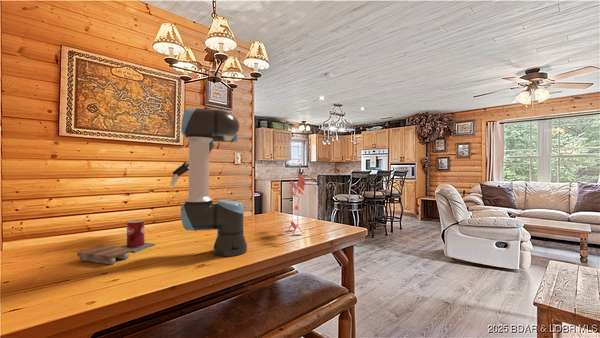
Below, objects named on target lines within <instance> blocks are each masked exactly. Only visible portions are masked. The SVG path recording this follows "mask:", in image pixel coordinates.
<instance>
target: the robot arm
mask: <svg viewBox="0 0 600 338" xmlns="http://www.w3.org/2000/svg"><path fill="white" fill-rule="evenodd" d="M180 128H181V131H180V132H181V134H182V135H184V136H185V137H184V138H185V140H186V141H187V142H188V162H186V161H184V162H183V163H182V164H181V165H179V166H178V167H177V168H176V169H175V170H174V171H172V175H173V176H172V178H171V180H170V182H169V183H170V185H171V186H172V187H174V186H175V184H176V183H177V181H178V180H179V179H180V176H182V175H184V174H185V173H187V172H188V197H187V198H186V199H185V200H184V203H183V204H181V206H180V218H181V224H182V227H183V228H184V230H185V231H190V232H192V231H194V232H197V231H210V230H211V231H212V230H217V236H216V240H215V241H214V245H213V247H212V248H213V250H212V251H213V252H212V253H213V254H214V255H215V256H219V257H235V256H240V255H243V254H245V253H247V251H248V243H247V241H246V238H245V235H244V214H245V212H244V205H243V203H242V202H240V201H237V200H230V199H219V200H217V203H214V202H213V200H214V199H213V198H212V197H211V196H210V154H211V153H212V150H213V149H214V147H215V145H216V144H215V143H216V142H217V143H218V142H219V143H220V142H221V143H223V142H224V143H238V136H239V130H240V122H239V120H238V118H237V117H236V116H235V115H234V114H231V113H230V112H228V111H225V110H222V109H209V108H208V109H207V108H198V107H195V108H186V109H185V110H184V112H183V113H182V119H181V127H180Z"/></svg>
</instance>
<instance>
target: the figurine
mask: <svg viewBox="0 0 600 338" xmlns="http://www.w3.org/2000/svg"><path fill="white" fill-rule="evenodd" d="M297 177H298V178H297V179H298V181H297V182H296V183H295V182H294V181H293V180H291V181H290V188H289V194H292V196H293V197H294V198H295V197H297V198H298V199H297V200H298V201H297V204H296V205H295V206H294V208H293V209H292V210H290V215H291V217H293V212H292V211H294V210H296V211H299V210H300V206H299V202H300V196H299V195H304V196H305V197H307V194H306V193H305V191H304V190H305V186H306V185H307V182H306V181H305V176H304V174H303V173H302V174H301V173H299V174H298V176H297ZM292 188H293V189H294V190H293V191H292V192H291V190H292ZM297 192H298V195H297ZM296 214H297V223H295V222H294V220H293V218H291V221H290V225H289V227H288V230H287V231H288V232H289V231H290V229H291V228H293V232H292V234H293V235H294V234H295V232H296V230H297V228H298V230H299V231H300V232H301V234H302V235H304V232H303V231H302V229H301V227H300V226H299V213H296Z"/></svg>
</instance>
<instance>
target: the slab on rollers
mask: <svg viewBox="0 0 600 338" xmlns="http://www.w3.org/2000/svg"><path fill="white" fill-rule="evenodd" d="M76 253H77V257H78V258H79V261H83V262H90V263H98V264H106V265H114V264H115V263H116V260H117V259H118V260H119V259H120V260H128V259H129V256H130V255H129V253H131V252H130V248H121V246H112V245H102V244H101V245H98V246H95V247H91V248H88V249H84V250H80V251H77V252H76Z"/></svg>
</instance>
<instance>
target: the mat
mask: <svg viewBox="0 0 600 338" xmlns="http://www.w3.org/2000/svg"><path fill="white" fill-rule="evenodd" d="M156 245H157V244H156V243H155V242H154V243H153V242H152V243H151V242H145V244H144V245H143V246H141V247H137V248H130V252H129V253H137V251H138V252H140V251H143V250H145V248H146V249H148V247H149V248H151V247H154V246H156ZM120 247H121V248H128V247H127V244H125V245H122V246H120ZM142 249H143V250H142Z"/></svg>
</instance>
